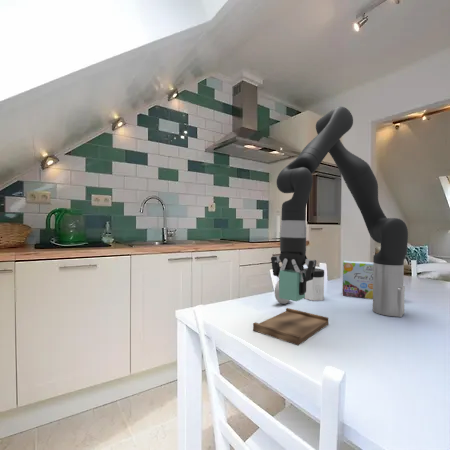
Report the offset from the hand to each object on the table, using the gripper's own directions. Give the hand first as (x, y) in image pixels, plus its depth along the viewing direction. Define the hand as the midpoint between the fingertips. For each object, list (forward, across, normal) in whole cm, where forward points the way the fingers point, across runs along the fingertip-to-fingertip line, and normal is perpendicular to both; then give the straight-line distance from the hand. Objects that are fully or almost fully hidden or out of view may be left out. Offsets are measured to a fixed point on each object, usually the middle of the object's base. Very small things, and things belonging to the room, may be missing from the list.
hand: (292, 292), depth 81 cm
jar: (+10, +9, -36) cm, 38 cm away
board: (+10, 0, 0) cm, 10 cm away
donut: (+10, +14, -20) cm, 26 cm away
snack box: (+10, -8, -54) cm, 56 cm away
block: (+2, 0, 0) cm, 2 cm away
